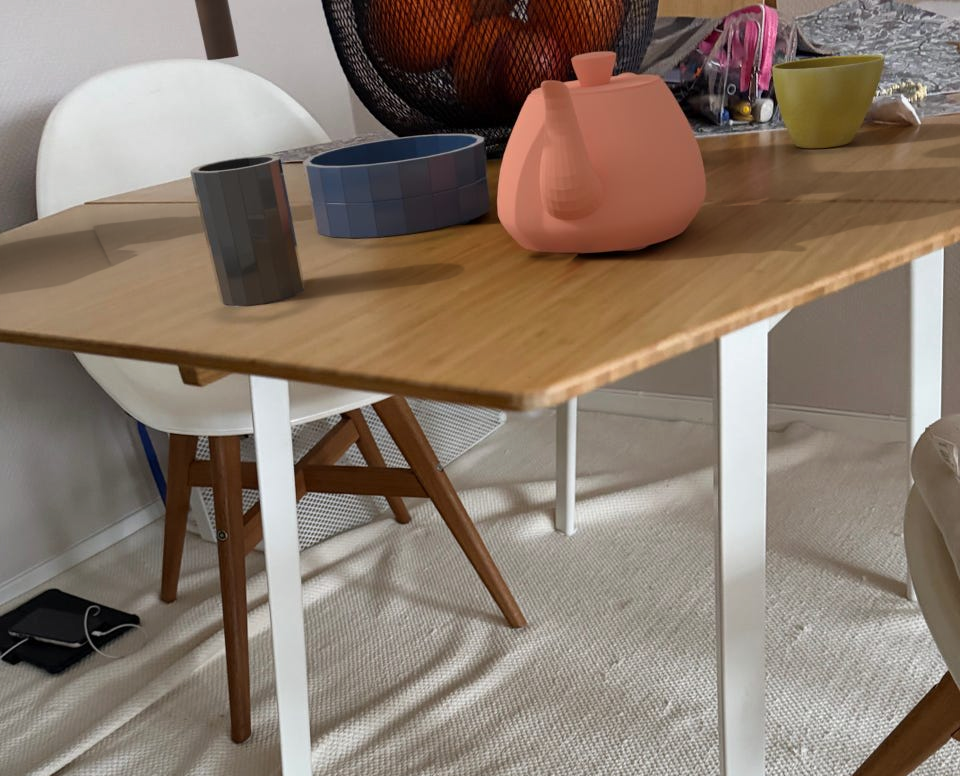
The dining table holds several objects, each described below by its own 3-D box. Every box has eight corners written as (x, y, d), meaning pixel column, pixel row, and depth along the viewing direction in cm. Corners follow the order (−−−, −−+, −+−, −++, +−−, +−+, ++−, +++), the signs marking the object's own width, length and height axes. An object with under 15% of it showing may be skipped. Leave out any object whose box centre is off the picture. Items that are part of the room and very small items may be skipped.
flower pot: (869, 131, 109) (875, 50, 105) (887, 147, 101) (894, 59, 97) (765, 141, 111) (768, 62, 107) (774, 157, 102) (777, 72, 99)
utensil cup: (206, 315, 75) (173, 174, 70) (250, 291, 79) (221, 158, 74) (280, 314, 73) (250, 169, 68) (320, 290, 77) (295, 153, 72)
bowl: (285, 248, 91) (270, 171, 88) (363, 209, 103) (353, 140, 100) (452, 242, 86) (442, 160, 83) (515, 202, 98) (508, 129, 95)
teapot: (672, 279, 69) (668, 62, 63) (452, 284, 74) (428, 84, 68) (727, 204, 86) (728, 28, 80) (545, 213, 92) (533, 48, 85)
